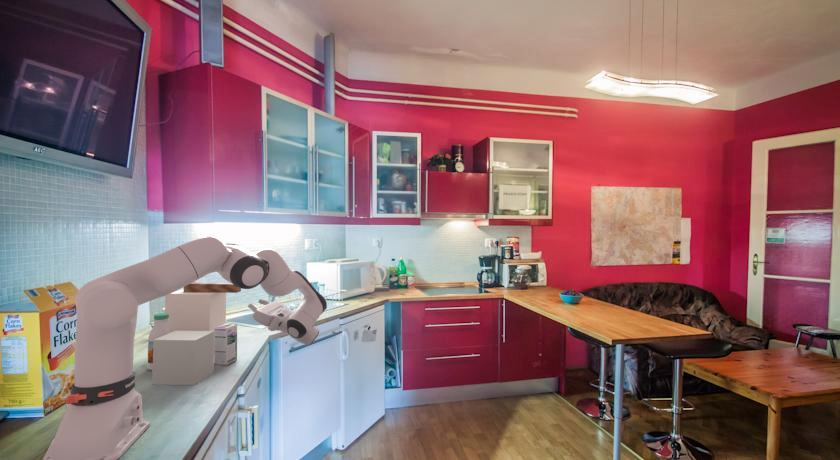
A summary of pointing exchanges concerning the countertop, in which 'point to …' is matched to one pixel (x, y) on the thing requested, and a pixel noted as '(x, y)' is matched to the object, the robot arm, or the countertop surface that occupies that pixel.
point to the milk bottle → (157, 334)
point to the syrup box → (225, 344)
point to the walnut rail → (212, 287)
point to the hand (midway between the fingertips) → (254, 302)
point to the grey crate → (183, 357)
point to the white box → (195, 310)
